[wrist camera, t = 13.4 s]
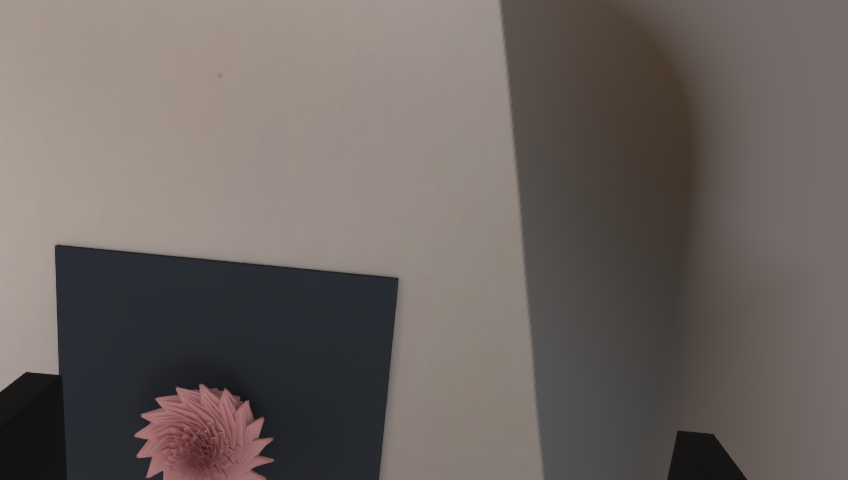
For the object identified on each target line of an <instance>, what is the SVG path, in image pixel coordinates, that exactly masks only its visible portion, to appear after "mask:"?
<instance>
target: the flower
mask: <svg viewBox="0 0 848 480" xmlns="http://www.w3.org/2000/svg"><path fill="white" fill-rule="evenodd" d="M199 387H200V390H197V389H196V390H189V389H185V388H180V387H177V388H176V391H177V394H178V395H172V396H164V397H157V398H155V400H156V401H157V402H158V403H159V405H160V406H161V407H162V408H159V409H156V410H153V411H150V412H146V413H143V414H141V417H142V418H144V419H146V420H148V421H150V422H151V423H150V424H149V425H148V426H146V427H145V428H143V429H142V430H140V431H139V432H137V433H136V435H134V436H135V437H138V438H142V439H149V440H148V441H147V442H146V444H145V445H144V446H143V448H142V449H141V450H140V452H139V453H138V454H137V457H138V458H145V457H152V460H151V463H150V467H149V470H148V473H147V476H146V478H147V477H148V478H150V477H152V476H153V475H155V474H157V473H159V472H161V471H163V472H164V474H163V480H267V479H265V478H266V477H264V476H262V475H260V474H258V473H256V472H254V471H253V470H252V468H254V467H256V466H260V465H263V464H266V463H270V462H273V461H275V460H273V458H268V457H263V456H259V455H258V454H259V453H260V452H261V451H262V449H263V448H264V447H265V446H266V445H267V444H269V443H270V442H271V441H273V438H274V437H273V438H272V437H271V438H264V439H262V438H261V439H258V438H259V434H260V431H261V428H262V425H263V421H264V419H265V418H264V417H261V418H259V419H257V420H254V417H253V415H252V412H251V409H250V405H249V400H248V401H245V402H244V403H243V401H240V396H234V395H232V394H231V393H230V391H228V390H226V388H225V389H224V391H219V390H218V389H217V388H214V389H209V388H207V387H206V386H205V385H203V384H202V383H201V385H200V384H199ZM263 418H264V419H263Z"/></svg>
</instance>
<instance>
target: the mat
mask: <svg viewBox="0 0 848 480" xmlns="http://www.w3.org/2000/svg"><path fill="white" fill-rule="evenodd" d="M55 264H56V294H57V324H58V355H59V375H62V379H63V400H64V422H65V443H66V465H67V480H163V474H164V472H163V471H161V472H159V473H157V474H155V475H153V476H152V477H150V478H148V477H147V478H146V476H147V473H148V470H149V467H150V463H151V460H152V457H145V458H138V457H137V454H138V453H139V452H140V450H141V449H142V448H143V446H144V445H145V444H146V442H147V441H148V440H149V439H142V438H138V437H135V436H134V435H136V433H137V432H139V431H140V430H142V429H143V428H145V427H146V426H148V425H149V424H150V423H151V422H150V421H148V420H146V419H144V418H142V417H141V414H143V413H146V412H150V411H153V410H156V409H159V408H162V407H161V406H160V405H159V403H158V402H157V401H156V400H155V398H157V397H164V396H172V395H178V394H177V391H176V388H177V387H180V388H185V389H189V390H196V389H197V390H200V387H199V384H200V385H201V383H202V384H203V385H205V386H206V387H207V388H209V389H214V388H217V389H218V390H219V391H224V389H225V388H226V390H228V391H230V393H231V394H232V395H234V396H240V401H243V403H244V402H245V401H248V400H249V405H250V409H251V412H252V415H253V417H254V420H257V419H259V418H261V417H264V418H265V419H264V418H263V419H264V421H263V425H262V428H261V431H260V434H259V438H258V439H261V438H262V439H264V438H271V437H272V438H273V437H274V438H273V441H271V442H270V443H269V444H267V445H266V446H265V447H264V448H263V449H262V451H261V452H260V453H259V454H258V455H259V456H263V457H268V458H273V460H275V461H273V462H270V463H266V464H263V465H260V466H256V467H254V468H252V470H253V471H254V472H256V473H258V474H260V475H262V476H264V477H266V478H265V479H267V480H379V472H380V462H381V452H382V442H383V431H384V421H385V411H386V401H387V391H388V381H389V370H390V360H391V350H392V340H393V330H394V320H395V309H396V299H397V289H398V278H391V277H381V276H371V275H360V274H350V273H340V272H330V271H319V270H309V269H299V268H288V267H278V266H268V265H258V264H247V263H237V262H227V261H217V260H206V259H196V258H186V257H175V256H165V255H155V254H145V253H134V252H124V251H114V250H104V249H93V248H83V247H73V246H62V245H56V246H55Z"/></svg>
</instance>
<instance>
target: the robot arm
mask: <svg viewBox="0 0 848 480" xmlns="http://www.w3.org/2000/svg"><path fill="white" fill-rule="evenodd" d="M0 480H67V465H66V443H65V422H64V400H63V379H62V375H53V374H41V373H30V372H26V373H24V374H23V375H22V376H20V377H19V378H18V379H17V380H15V381H14V382H13V383H11V384H10V385H9V386H7V387H6V388H5V389H4V390H2V391H1V392H0ZM668 480H747V479H746V477H745V476H744V475H743V473H742V472H741V471H740V469H739V468H738V467H737V465H736V464H735V463H734V461H733V460H732V459H731V457H730V456H729V455H728V453H727V452H726V451H725V449H724V448H723V447H722V445H721V444H720V443H719V441H718V440H717V439H716V437H715V436H714V434H707V433H697V432H686V431H678V432H677V436H676V441H675V446H674V451H673V455H672V460H671V465H670V470H669V475H668Z"/></svg>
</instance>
